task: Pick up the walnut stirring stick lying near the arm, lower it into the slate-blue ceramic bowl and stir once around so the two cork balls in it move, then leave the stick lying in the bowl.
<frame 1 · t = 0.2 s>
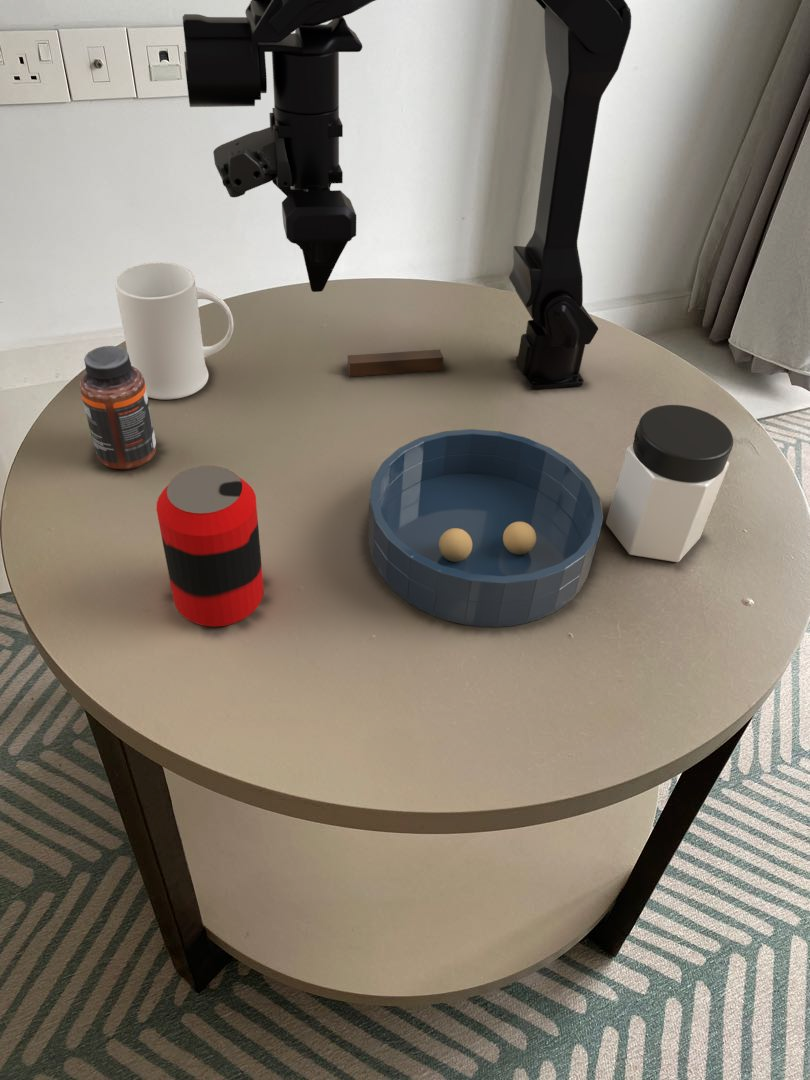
hand: (310, 269, 88), 14 cm above the table, tool pointing down, fingers open, 9 cm apart
soda can: (219, 597, 75), on the table
cork ball a: (519, 538, 79), point 2 cm above the table, touching bowl
cork ball b: (455, 544, 78), point 2 cm above the table, touching bowl
stick: (394, 369, 102), on the table
supplement bottle: (127, 455, 88), on the table
bowl: (479, 543, 81), on the table
jar: (651, 533, 84), on the table
mug: (185, 380, 98), on the table
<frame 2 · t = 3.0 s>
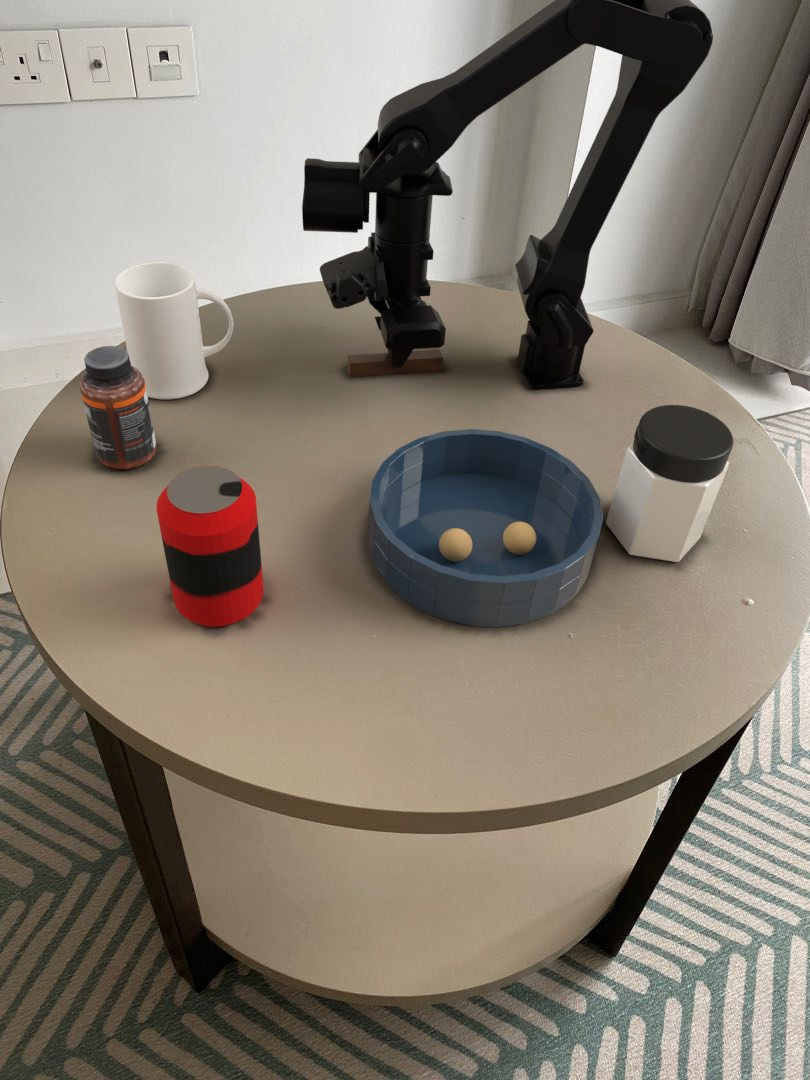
hand: (395, 362, 101), 1 cm above the table, tool pointing down, fingers closed on stick, 2 cm apart
stick: (394, 369, 102), on the table, touching gripper
everything else where it was.
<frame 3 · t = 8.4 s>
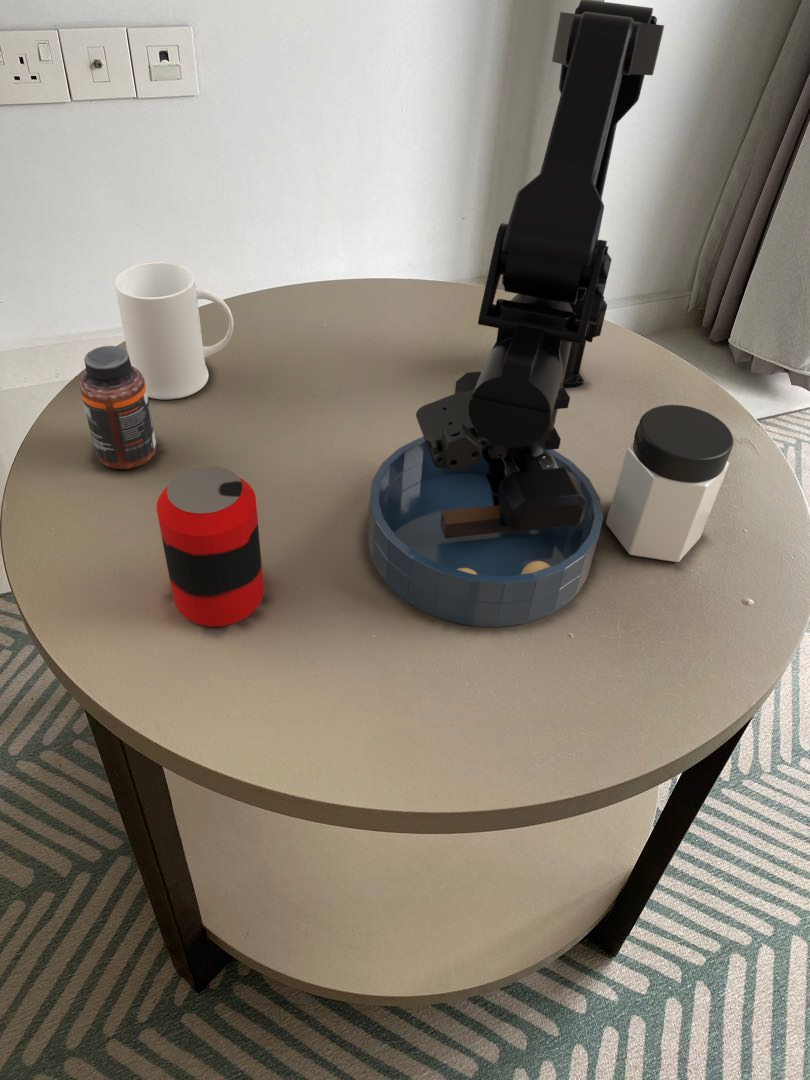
hand: (502, 517, 80), 3 cm above the table, tool pointing down, fingers closed on stick, 2 cm apart
cork ball a: (538, 578, 75), point 2 cm above the table, tilted 164°, touching bowl
cork ball b: (463, 585, 74), point 2 cm above the table, tilted 170°, touching bowl
stick: (500, 525, 80), point 2 cm above the table, touching gripper
everything else where it was.
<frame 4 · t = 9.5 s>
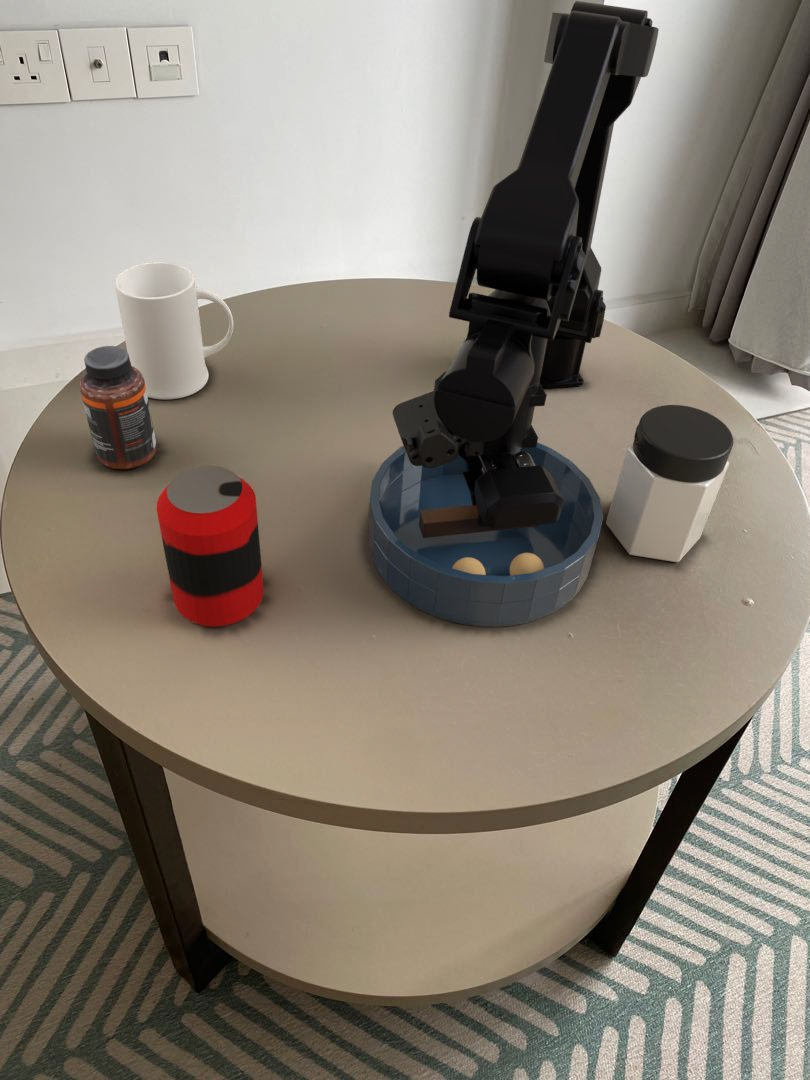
hand: (481, 517, 79), 3 cm above the table, tool pointing down, fingers closed on stick, 2 cm apart
cork ball a: (526, 570, 76), point 2 cm above the table, tilted 143°, touching bowl
cork ball b: (468, 574, 75), point 2 cm above the table, tilted 135°, touching bowl
stick: (479, 525, 80), point 2 cm above the table, touching gripper
everything else where it was.
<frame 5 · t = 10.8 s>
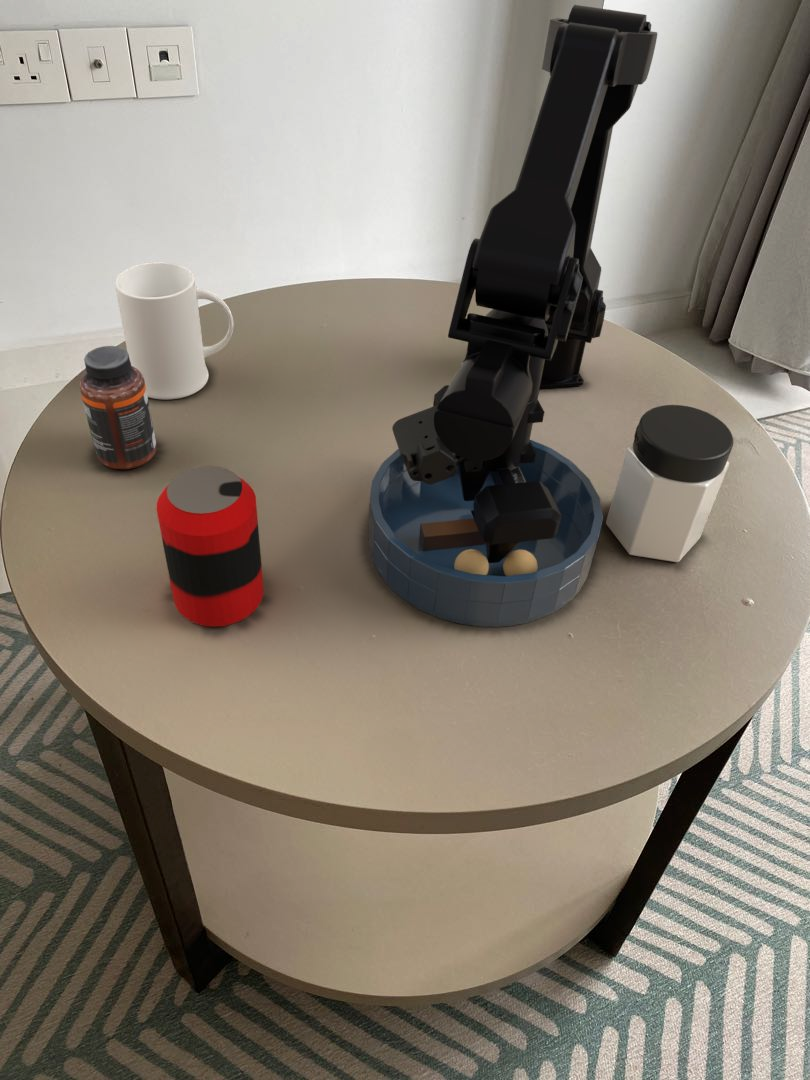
hand: (480, 529, 80), 2 cm above the table, tool pointing down, fingers open, 8 cm apart
cork ball a: (520, 566, 76), point 2 cm above the table, tilted 117°, touching bowl, gripper
cork ball b: (471, 566, 76), point 2 cm above the table, tilted 94°, touching bowl
stick: (478, 538, 81), point 1 cm above the table, touching bowl
everything else where it was.
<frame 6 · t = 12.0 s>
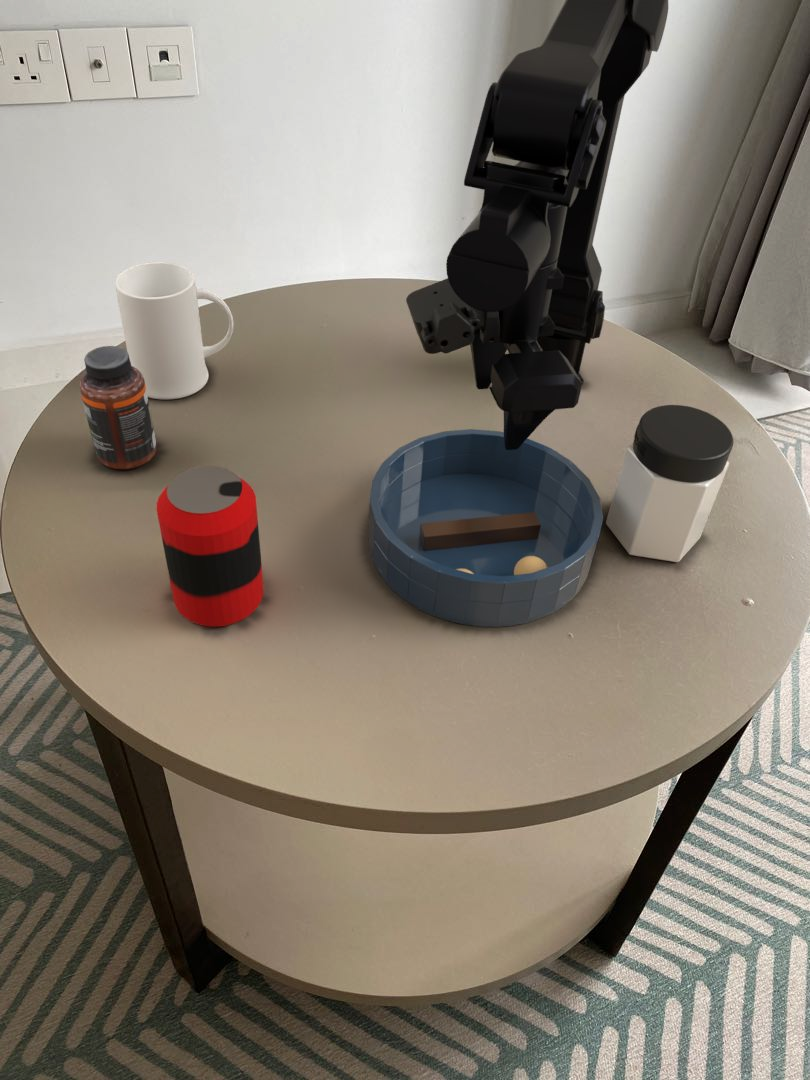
hand: (496, 417, 78), 11 cm above the table, tool pointing down, fingers open, 9 cm apart
cork ball a: (531, 573, 76), point 2 cm above the table, tilted 161°, touching bowl
cork ball b: (461, 586, 74), point 2 cm above the table, tilted 166°, touching bowl
everything else where it was.
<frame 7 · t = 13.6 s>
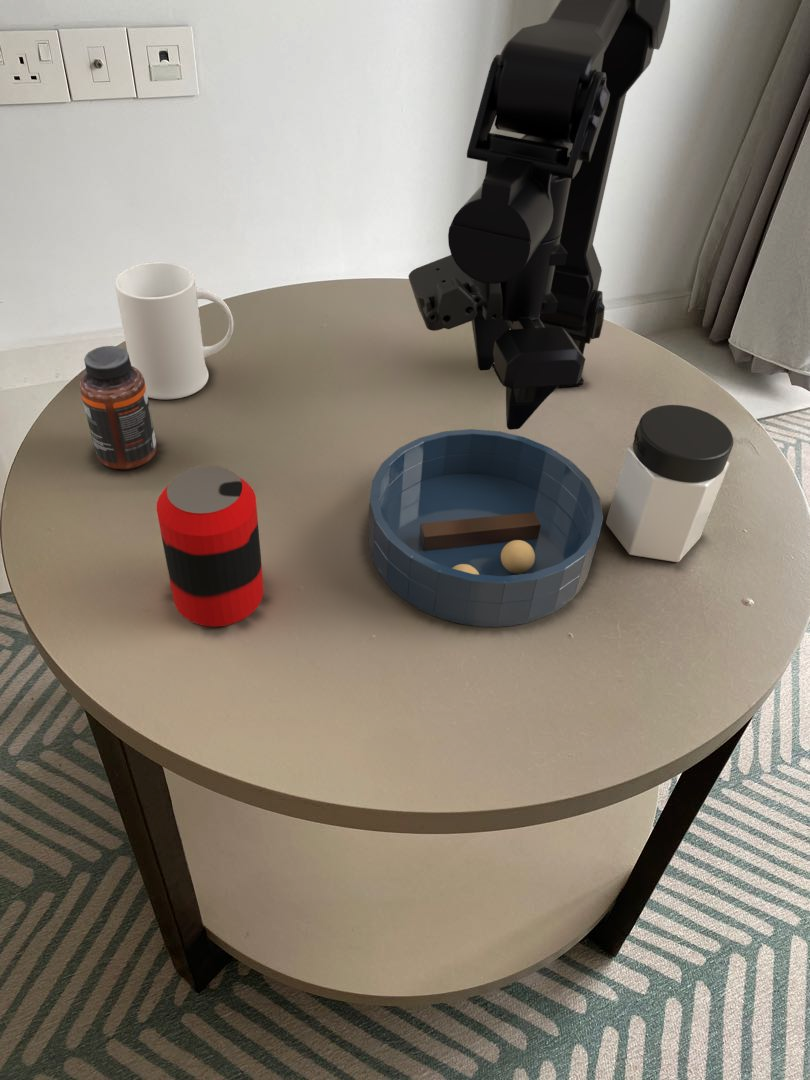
hand: (498, 397, 77), 12 cm above the table, tool pointing down, fingers open, 9 cm apart
cork ball a: (517, 556, 77), point 2 cm above the table, tilted 80°, touching bowl
at the end: cork ball a moved 2.4 cm from its start; stick inside the target area in the bowl (0.1 cm from its centre), point 0.6 cm above the bowl's base; the gripper is holding nothing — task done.
